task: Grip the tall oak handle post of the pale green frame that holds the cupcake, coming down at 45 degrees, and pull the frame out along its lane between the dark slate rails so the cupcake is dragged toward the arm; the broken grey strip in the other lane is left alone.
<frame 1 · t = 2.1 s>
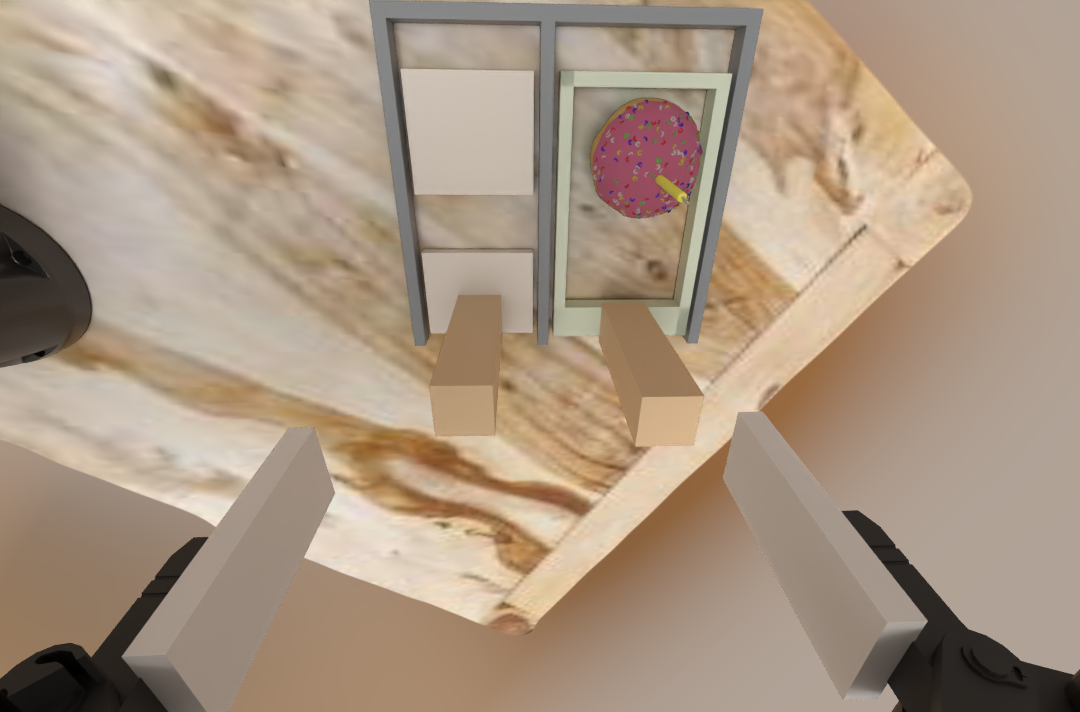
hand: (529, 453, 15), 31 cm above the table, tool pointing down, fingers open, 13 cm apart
cupcake: (632, 156, 39), resting in pale green frame
pale green frame: (651, 245, 34), point 9 cm above the table, slide at 0.0 cm
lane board: (560, 204, 41), on the table
strip b broken: (476, 203, 40), resting in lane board
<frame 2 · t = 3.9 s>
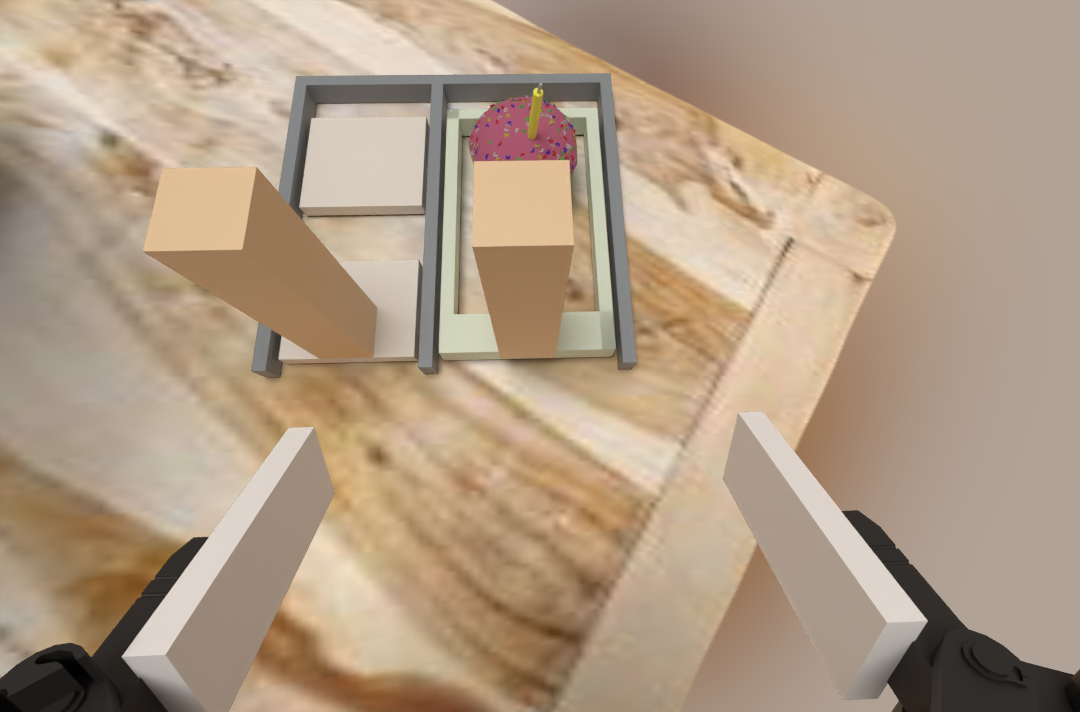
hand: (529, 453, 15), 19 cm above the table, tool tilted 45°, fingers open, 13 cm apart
cupcake: (524, 185, 40), resting in pale green frame
pale green frame: (523, 162, 30), point 9 cm above the table, slide at 0.0 cm
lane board: (454, 225, 39), on the table
strip b broken: (365, 226, 39), resting in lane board
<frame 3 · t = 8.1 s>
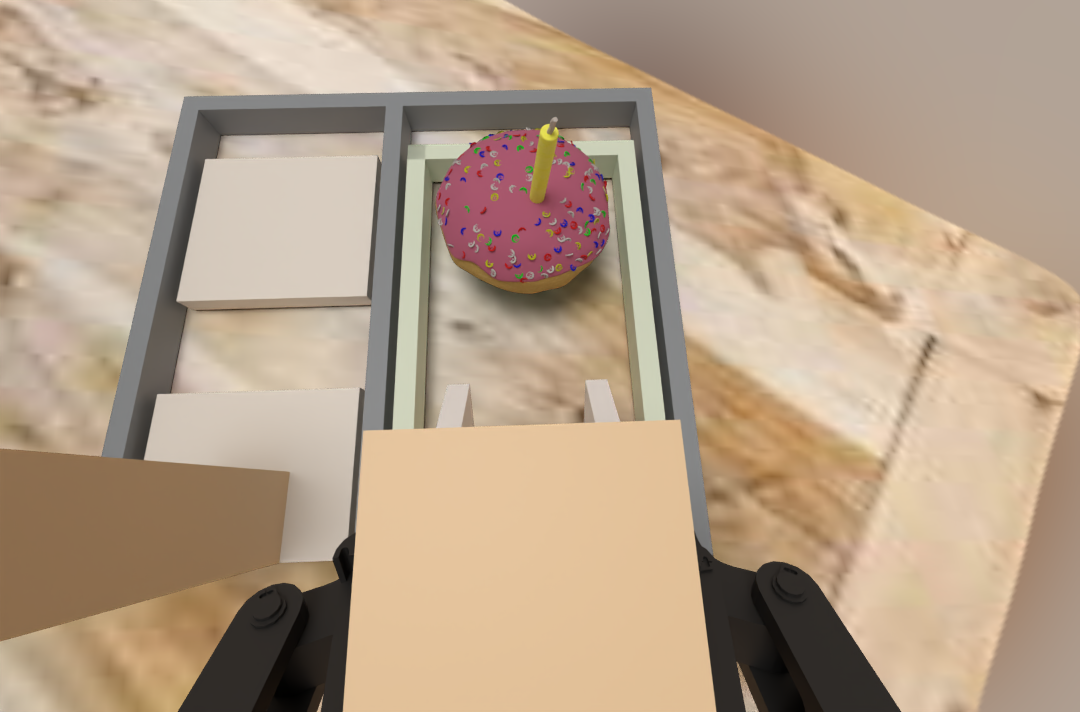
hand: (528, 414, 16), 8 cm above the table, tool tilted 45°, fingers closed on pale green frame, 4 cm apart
cupcake: (525, 256, 27), resting in pale green frame
pale green frame: (523, 258, 16), point 9 cm above the table, slide at 0.0 cm, touching gripper
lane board: (419, 321, 25), on the table
strip b broken: (283, 325, 25), resting in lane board
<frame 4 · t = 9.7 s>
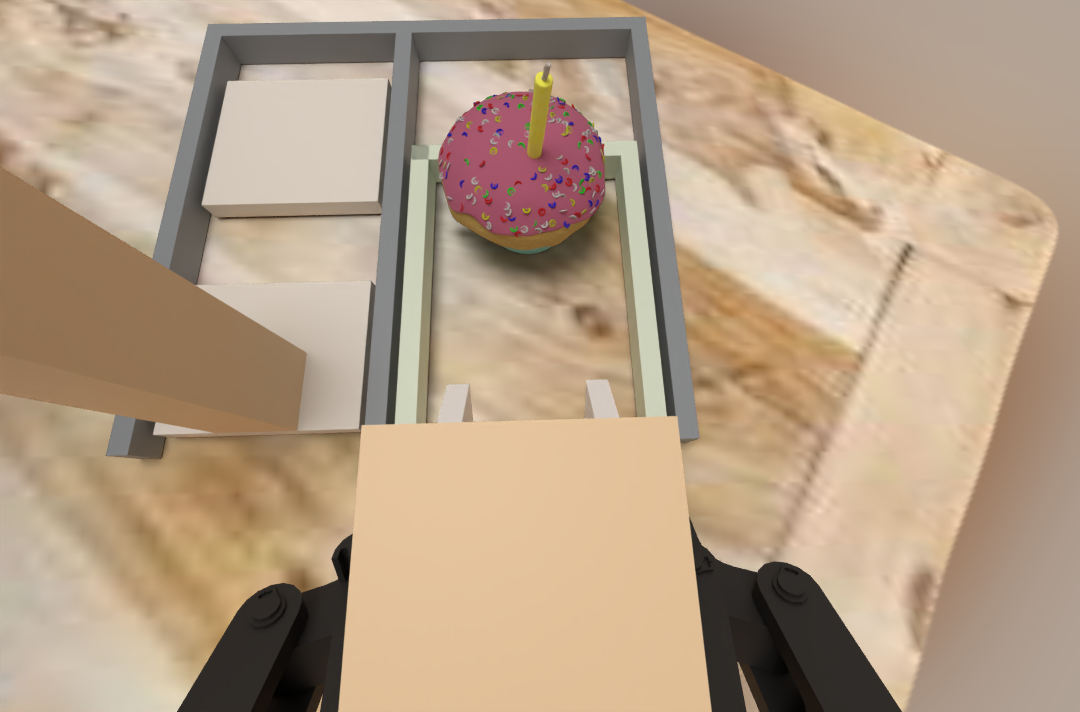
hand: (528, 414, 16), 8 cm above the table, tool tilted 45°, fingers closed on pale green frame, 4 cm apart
cupcake: (525, 221, 28), resting in pale green frame
pale green frame: (525, 257, 16), point 9 cm above the table, slide at 5.9 cm, touching cupcake, gripper
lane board: (426, 229, 27), on the table
strip b broken: (299, 231, 27), resting in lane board
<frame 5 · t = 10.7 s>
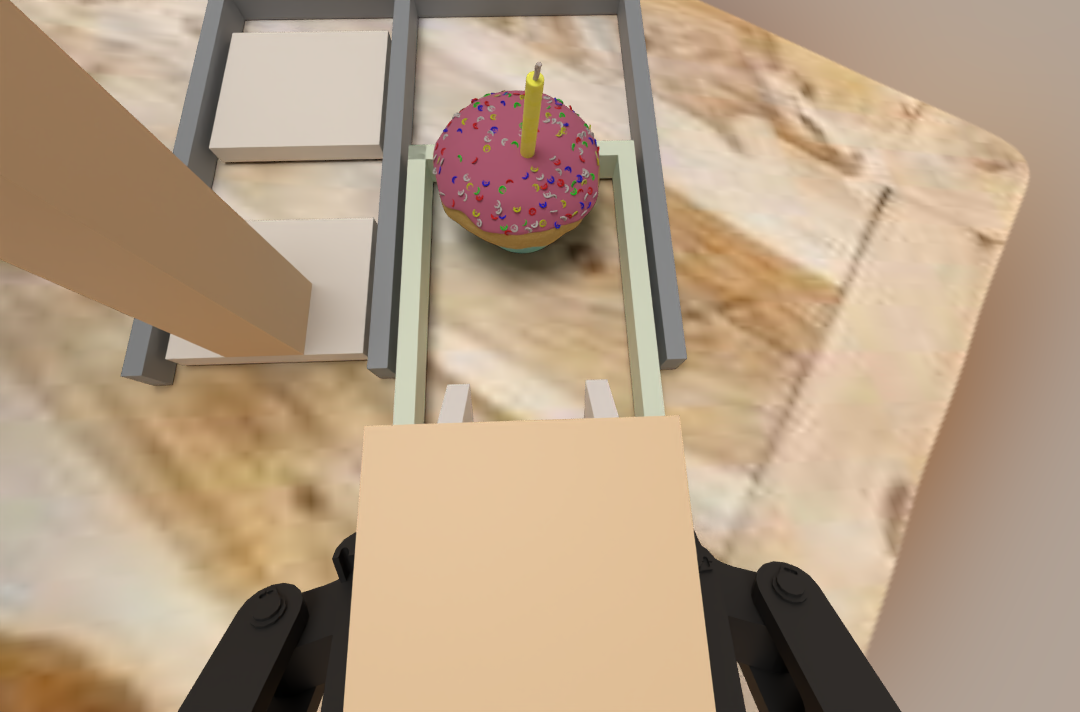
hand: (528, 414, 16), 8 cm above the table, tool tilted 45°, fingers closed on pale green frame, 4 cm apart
cupcake: (520, 220, 28), resting in pale green frame
pale green frame: (524, 257, 16), point 9 cm above the table, slide at 9.8 cm, touching cupcake, gripper
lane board: (426, 173, 28), on the table
strip b broken: (303, 176, 28), resting in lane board
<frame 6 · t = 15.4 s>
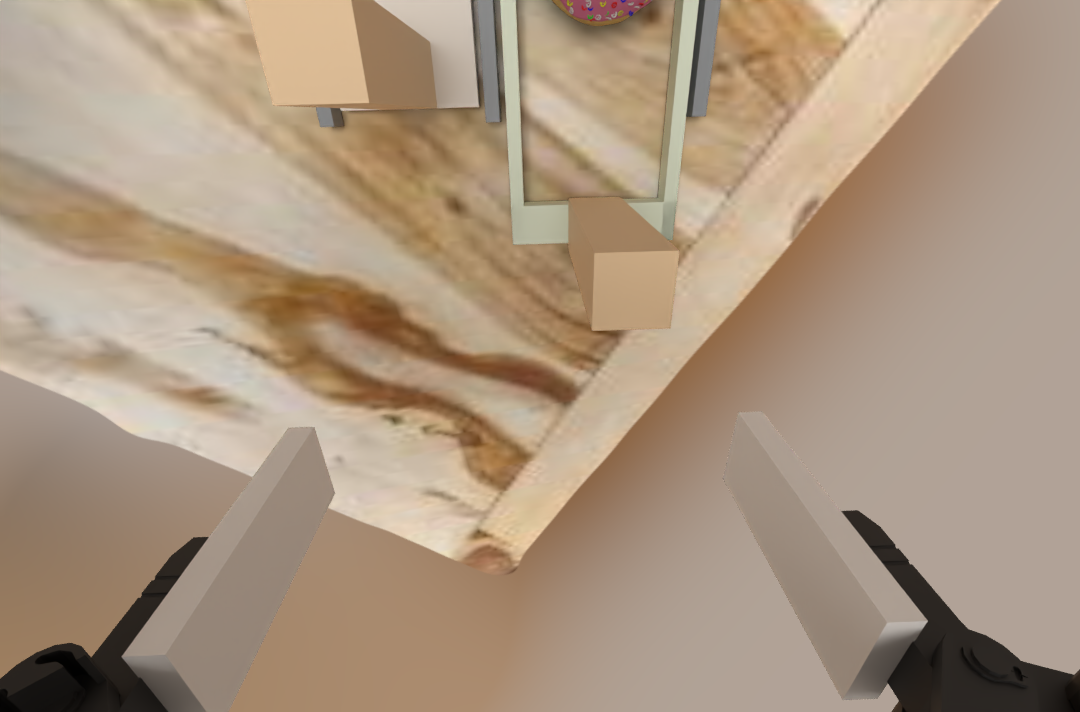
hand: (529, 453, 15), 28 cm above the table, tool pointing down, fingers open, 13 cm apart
pale green frame: (613, 83, 26), point 9 cm above the table, slide at 9.9 cm
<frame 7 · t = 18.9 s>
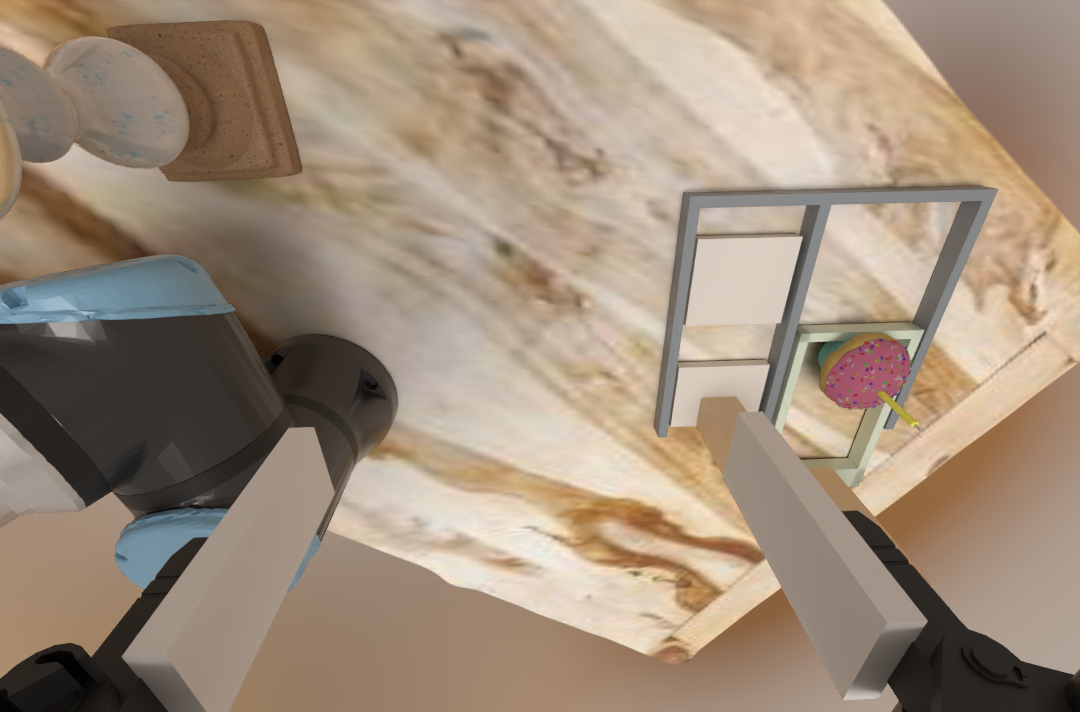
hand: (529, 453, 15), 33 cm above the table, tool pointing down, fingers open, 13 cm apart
cupcake: (836, 351, 51), resting in pale green frame
pale green frame: (872, 460, 47), point 9 cm above the table, slide at 9.9 cm
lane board: (794, 325, 49), on the table
strip b broken: (726, 327, 49), resting in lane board
candle holder: (220, 106, 38), on the table
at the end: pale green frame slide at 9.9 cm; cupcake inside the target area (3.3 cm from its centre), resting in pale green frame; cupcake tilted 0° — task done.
